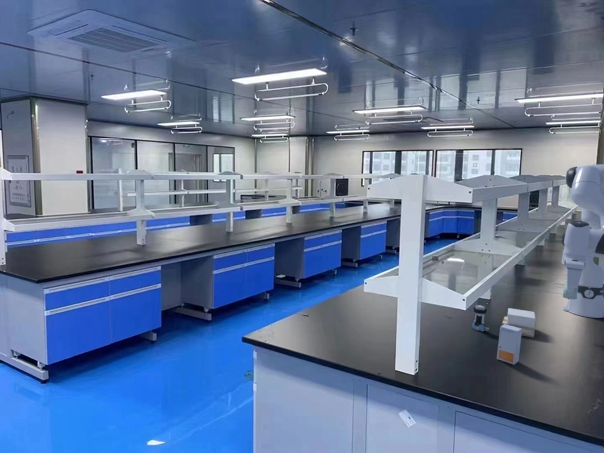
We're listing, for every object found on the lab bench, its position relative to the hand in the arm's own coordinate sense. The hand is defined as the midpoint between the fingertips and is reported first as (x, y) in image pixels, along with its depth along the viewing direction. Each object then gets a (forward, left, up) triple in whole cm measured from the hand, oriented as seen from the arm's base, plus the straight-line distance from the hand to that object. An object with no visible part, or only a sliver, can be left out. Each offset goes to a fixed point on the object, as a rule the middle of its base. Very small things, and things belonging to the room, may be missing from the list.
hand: (570, 293), depth 183 cm
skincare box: (+46, -18, -17) cm, 53 cm away
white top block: (+8, -17, -14) cm, 23 cm away
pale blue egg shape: (0, 0, -2) cm, 2 cm away
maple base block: (+8, -17, -18) cm, 26 cm away
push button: (+18, -31, -17) cm, 40 cm away
